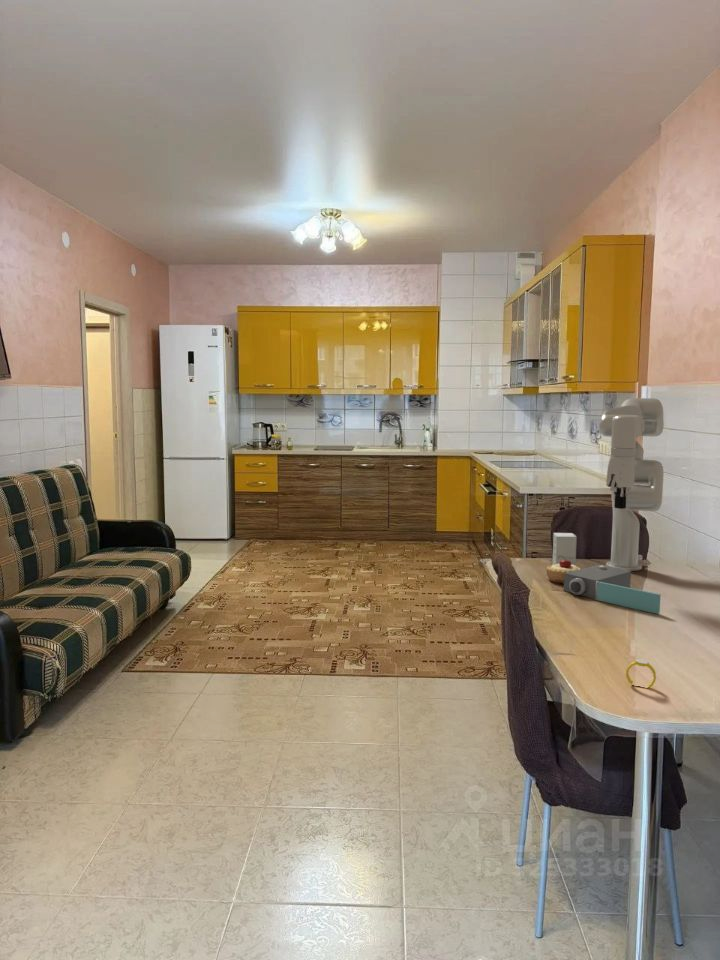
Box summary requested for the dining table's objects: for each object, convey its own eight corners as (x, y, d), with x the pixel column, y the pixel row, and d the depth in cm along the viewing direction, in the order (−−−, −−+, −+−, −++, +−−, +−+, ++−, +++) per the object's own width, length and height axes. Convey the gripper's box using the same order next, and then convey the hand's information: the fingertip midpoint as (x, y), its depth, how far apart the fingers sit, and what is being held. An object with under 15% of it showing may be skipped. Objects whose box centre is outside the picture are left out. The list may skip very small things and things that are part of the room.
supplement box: (571, 565, 265) (573, 532, 263) (575, 569, 257) (577, 536, 256) (551, 564, 265) (553, 532, 264) (555, 569, 258) (556, 536, 257)
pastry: (569, 588, 233) (570, 563, 232) (539, 581, 242) (540, 556, 241) (588, 581, 241) (589, 557, 240) (559, 574, 250) (560, 550, 249)
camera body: (598, 581, 241) (599, 562, 240) (630, 588, 232) (631, 569, 231) (559, 592, 227) (559, 571, 226) (591, 600, 218) (592, 579, 217)
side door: (659, 613, 204) (660, 594, 204) (657, 614, 203) (659, 594, 203) (596, 598, 219) (597, 581, 218) (594, 599, 218) (595, 581, 217)
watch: (654, 687, 152) (658, 662, 151) (653, 692, 150) (657, 666, 149) (625, 680, 155) (629, 655, 154) (624, 685, 152) (627, 659, 151)
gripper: (624, 451, 236) (622, 504, 238) (599, 453, 227) (597, 508, 229) (645, 453, 230) (642, 507, 232) (620, 455, 221) (617, 511, 223)
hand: (620, 508), depth 230 cm, fingers closed
